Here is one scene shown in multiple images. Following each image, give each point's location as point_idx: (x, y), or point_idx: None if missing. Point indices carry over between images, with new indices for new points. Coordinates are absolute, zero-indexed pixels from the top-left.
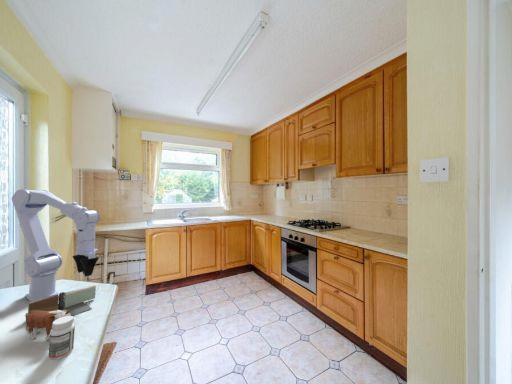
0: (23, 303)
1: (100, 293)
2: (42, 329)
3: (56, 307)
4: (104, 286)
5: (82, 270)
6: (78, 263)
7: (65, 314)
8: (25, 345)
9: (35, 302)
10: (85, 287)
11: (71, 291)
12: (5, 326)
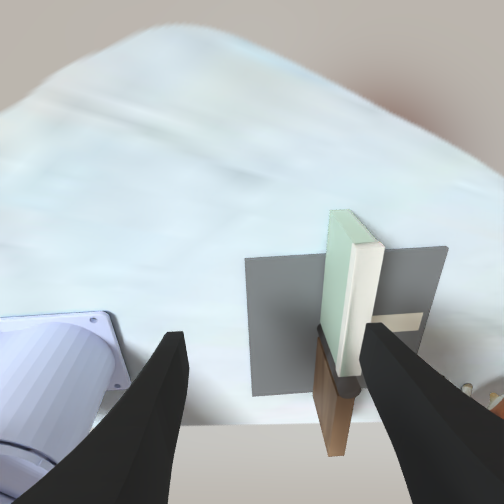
0: (121, 395)
1: (272, 153)
2: (494, 395)
3: None
4: (142, 82)
5: (183, 358)
6: (169, 471)
7: (397, 324)
8: (477, 397)
9: (344, 442)
10: (358, 298)
11: (352, 355)
12: (302, 422)
